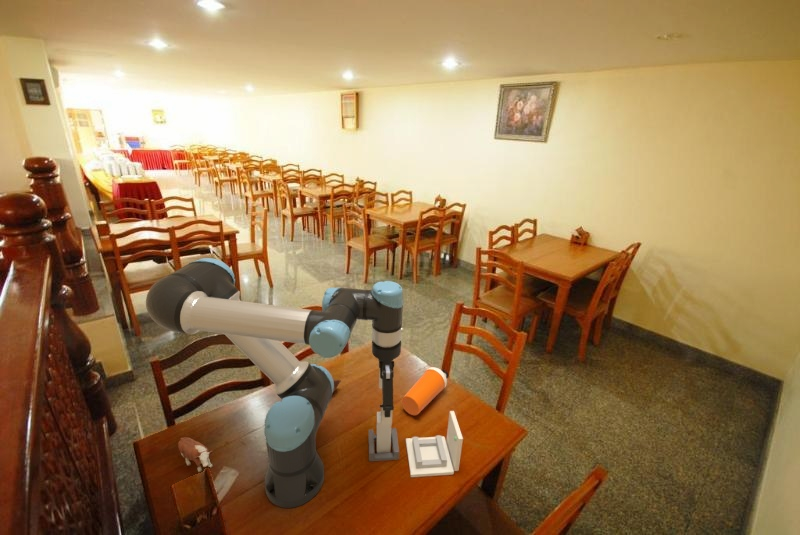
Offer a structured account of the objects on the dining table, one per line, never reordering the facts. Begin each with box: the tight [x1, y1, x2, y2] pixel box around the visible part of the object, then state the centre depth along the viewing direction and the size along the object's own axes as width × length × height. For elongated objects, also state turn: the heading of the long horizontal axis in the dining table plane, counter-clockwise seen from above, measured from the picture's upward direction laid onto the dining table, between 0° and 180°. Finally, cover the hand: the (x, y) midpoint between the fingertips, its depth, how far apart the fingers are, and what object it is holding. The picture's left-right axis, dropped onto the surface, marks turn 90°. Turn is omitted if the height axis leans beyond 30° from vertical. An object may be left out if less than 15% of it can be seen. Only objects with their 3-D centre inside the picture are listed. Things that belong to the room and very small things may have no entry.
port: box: [405, 410, 464, 478], centre depth 100 cm, size 14×12×12 cm
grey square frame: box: [368, 427, 400, 462], centre depth 104 cm, size 8×8×3 cm
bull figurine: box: [177, 436, 214, 473], centre depth 95 cm, size 4×13×8 cm, turn 58°
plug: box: [375, 407, 393, 454], centre depth 102 cm, size 4×4×14 cm
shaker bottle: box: [401, 366, 449, 416], centre depth 122 cm, size 9×9×20 cm
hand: (385, 404), depth 98 cm, fingers open, 13 cm apart
